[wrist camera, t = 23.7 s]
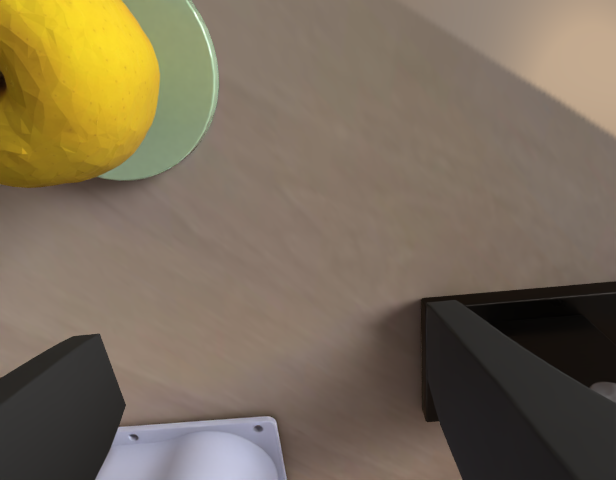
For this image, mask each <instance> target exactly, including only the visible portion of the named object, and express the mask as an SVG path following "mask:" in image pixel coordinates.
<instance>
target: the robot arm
mask: <svg viewBox="0 0 616 480" xmlns="http://www.w3.org/2000/svg"><path fill="white" fill-rule="evenodd" d="M426 304H427V369H428V383H429V386H430V390H431V394H432V397H433V401H434V405H435V408H436V412H437V415H438V419H439V422H440V425H441V428H442V430H443V433H444V435H445V438H446V440H447V443H448V445H449V447H450V450H451V452H452V455H453V457H454V460H455V462H456V465H457V467H458V469H459V472H460V474H461V477H462V479H463V480H616V403H615V402H613V401H611V400H610V399H608V398H606V397H604V396H602V395H601V394H599V393H597V392H595V391H593V390H592V389H590V388H588V387H586V386H585V385H583V384H581V383H580V382H578V381H576V380H575V379H573V378H571V377H570V376H568V375H566V374H565V373H563V372H561V371H560V370H558V369H556V368H555V367H553V366H552V365H550V364H548V363H547V362H545V361H544V360H542V359H541V358H539V357H538V356H536V355H534V354H533V353H531V352H530V351H528V350H527V349H525V348H524V347H522V346H521V345H519V344H518V343H516V342H515V341H514V340H512V339H511V338H509V337H508V336H506V335H505V334H503V333H502V332H501V331H499V330H498V329H496V328H495V327H494V326H492V325H491V324H489V323H488V322H486V321H485V320H484V319H482V318H481V317H480V316H478V315H477V314H475V313H474V312H473V311H471V310H470V309H468V308H467V307H466V306H464V305H463V304H461V303H460V302H458V301H457V300H449V301H438V302H428V303H426ZM125 406H126V404H125V402H124V399H123V396H122V393H121V391H120V388H119V385H118V382H117V380H116V377H115V374H114V372H113V369H112V366H111V363H110V361H109V358H108V355H107V352H106V350H105V347H104V344H103V341H102V339H101V336H100V334H92V335H81V336H73V337H71V338H69V339H67V340H65V341H63V342H61V343H59V344H57V345H55V346H53V347H52V348H50V349H48V350H46V351H45V352H43V353H41V354H40V355H38V356H36V357H35V358H33V359H31V360H30V361H28V362H26V363H25V364H23V365H21V366H20V367H18V368H16V369H15V370H13V371H12V372H10V373H8V374H7V375H5V376H3V377H2V378H0V480H287V477H286V471H285V466H284V460H283V455H282V449H281V444H280V438H279V433H278V427H277V422H276V420H275V419H274V418H272V417H270V416H263V417H249V418H235V419H221V420H208V421H194V422H180V423H166V424H152V425H138V426H125V427H119V424H120V421H121V418H122V415H123V412H124V409H125ZM256 425H260V427H258V426H256ZM134 434H135V435H134Z"/></svg>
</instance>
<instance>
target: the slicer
mask: <svg viewBox="0 0 616 480" xmlns="http://www.w3.org/2000/svg"><path fill="white" fill-rule="evenodd" d="M449 300H457V301H458V302H460V303H461V304H463V305H464V306H466V307H467V308H468V309H470V310H471V311H473V312H474V313H475V314H477V315H478V316H480V317H481V318H482V319H484V320H485V321H486V322H488V323H489V324H491V325H492V326H494V327H495V328H496V329H498V330H499V331H501V332H502V333H503V334H505V335H506V336H508V337H509V338H511V339H512V340H514V341H515V342H516V343H518V344H519V345H521V346H522V347H524V348H525V349H527V350H528V351H530V352H531V353H533V354H534V355H536V356H538V357H539V358H541V359H542V360H544V361H545V362H547V363H548V364H550V365H552V366H553V367H555V368H556V369H558V370H560V371H561V372H563V373H565V374H566V375H568V376H570V377H571V378H573V379H575V380H576V381H578V382H580V383H581V384H583V385H585V386H586V387H588V388H590V389H592V390H593V391H595V392H597V393H599V394H601V395H602V396H604V397H606V398H608V399H610V400H611V401H613V402H615V403H616V282H605V283H593V284H582V285H570V286H558V287H547V288H535V289H524V290H512V291H501V292H489V293H477V294H466V295H454V296H443V297H431V298H422V299H421V343H422V410H423V413H424V416H425V420H426V422H435V421H439V419H438V415H437V412H436V408H435V405H434V401H433V397H432V394H431V390H430V386H429V383H428V369H427V304H426V303H428V302H438V301H449Z"/></svg>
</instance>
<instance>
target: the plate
mask: <svg viewBox="0 0 616 480" xmlns="http://www.w3.org/2000/svg"><path fill="white" fill-rule="evenodd" d="M122 2H123V3H124V4H125V5H126V6H127V8H128V9H129V11H130V12H131V13H132V15H133V16H134V17H135V19H136V20H137V22H138V23H139V25H140V26H141V28H142V30H143V31H144V33H145V34H146V36H147V37H148V39H149V40H150V42H151V44H152V46H153V49H154V52H155V55H156V58H157V60H158V66H159V72H160V83H159V94H158V102H157V107H156V113H155V117H154V120H153V122H152V125H151V127H150V128H149V130H148V132H147V134H146V136H145V138H144V140H143V141H142V143H141V144H140V146H139V147H138V148H137V150H136V151H135V152H134V154H133V155H132V156H130V157H129V158H128V159H127V160H126V161H125V162H124V163H122V164H121V165H119V166H118V167H116V168H114V169H112V170H110V171H108V172H106V173H104V174H102V175H100V176H97V177H98V178H103V179H107V180H118V181H129V180H139V179H144V178H149V177H152V176H155V175H158V174H160V173H162V172H164V171H166V170H168V169H170V168H172V167H173V166H175V165H176V164H178V163H179V162H180V161H182V160H183V159H185V158H186V157H187V156H188V155H189V154H190V153H191V152H192V151H193V150H194V149H195V148H196V147H197V145H198V144H199V143H200V142H201V140H202V139H203V137H204V135H205V134H206V132H207V130H208V128H209V126H210V124H211V121H212V119H213V116H214V112H215V108H216V105H217V98H218V89H219V75H218V66H217V59H216V55H215V50H214V46H213V43H212V40H211V37H210V35H209V32H208V29H207V27H206V25H205V23H204V21H203V19H202V17H201V15H200V14H199V12H198V11H197V9H196V8H195V6H194V4H193V3H192V1H191V0H122Z"/></svg>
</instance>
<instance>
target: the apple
mask: <svg viewBox="0 0 616 480" xmlns="http://www.w3.org/2000/svg"><path fill="white" fill-rule="evenodd" d="M159 83H160V72H159V66H158V60H157V58H156V55H155V52H154V49H153V46H152V44H151V42H150V40H149V39H148V37H147V36H146V34H145V33H144V31H143V30H142V28H141V26H140V25H139V23H138V22H137V20H136V19H135V17H134V16H133V15H132V13H131V12H130V11H129V9H128V8H127V6H126V5H125V4H124V3H123V2H122V0H0V184H2V185H7V186H12V187H24V188H34V187H45V186H53V185H59V184H64V183H76V182H82V181H85V180H88V179H91V178H94V177H97V176H100V175H102V174H104V173H106V172H108V171H110V170H112V169H114V168H116V167H118V166H119V165H121V164H122V163H124V162H125V161H126V160H127V159H128V158H129V157H130V156H132V155H133V154H134V152H135V151H136V150H137V148H138V147H139V146H140V144H141V143H142V141H143V140H144V138H145V136H146V134H147V132H148V130H149V128H150V127H151V125H152V122H153V120H154V117H155V113H156V107H157V102H158V94H159Z"/></svg>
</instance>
